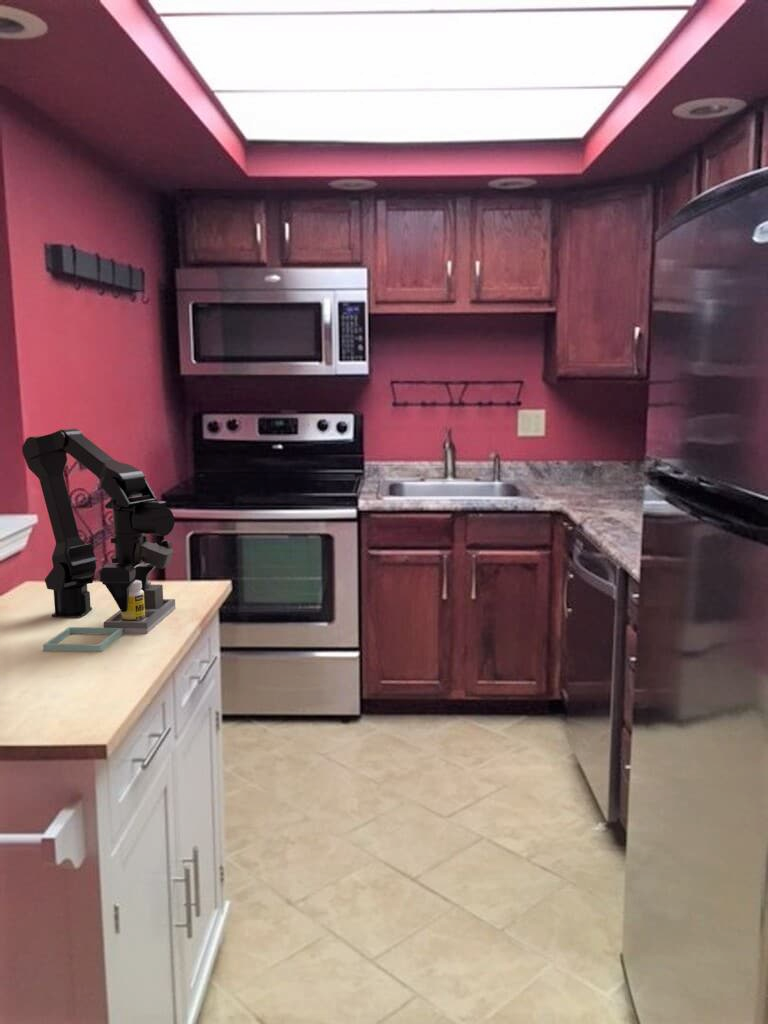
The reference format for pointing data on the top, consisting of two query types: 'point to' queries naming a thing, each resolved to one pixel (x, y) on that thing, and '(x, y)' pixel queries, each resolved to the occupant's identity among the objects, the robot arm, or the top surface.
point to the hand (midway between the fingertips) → (132, 605)
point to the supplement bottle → (135, 603)
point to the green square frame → (53, 645)
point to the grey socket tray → (151, 621)
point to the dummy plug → (153, 596)
